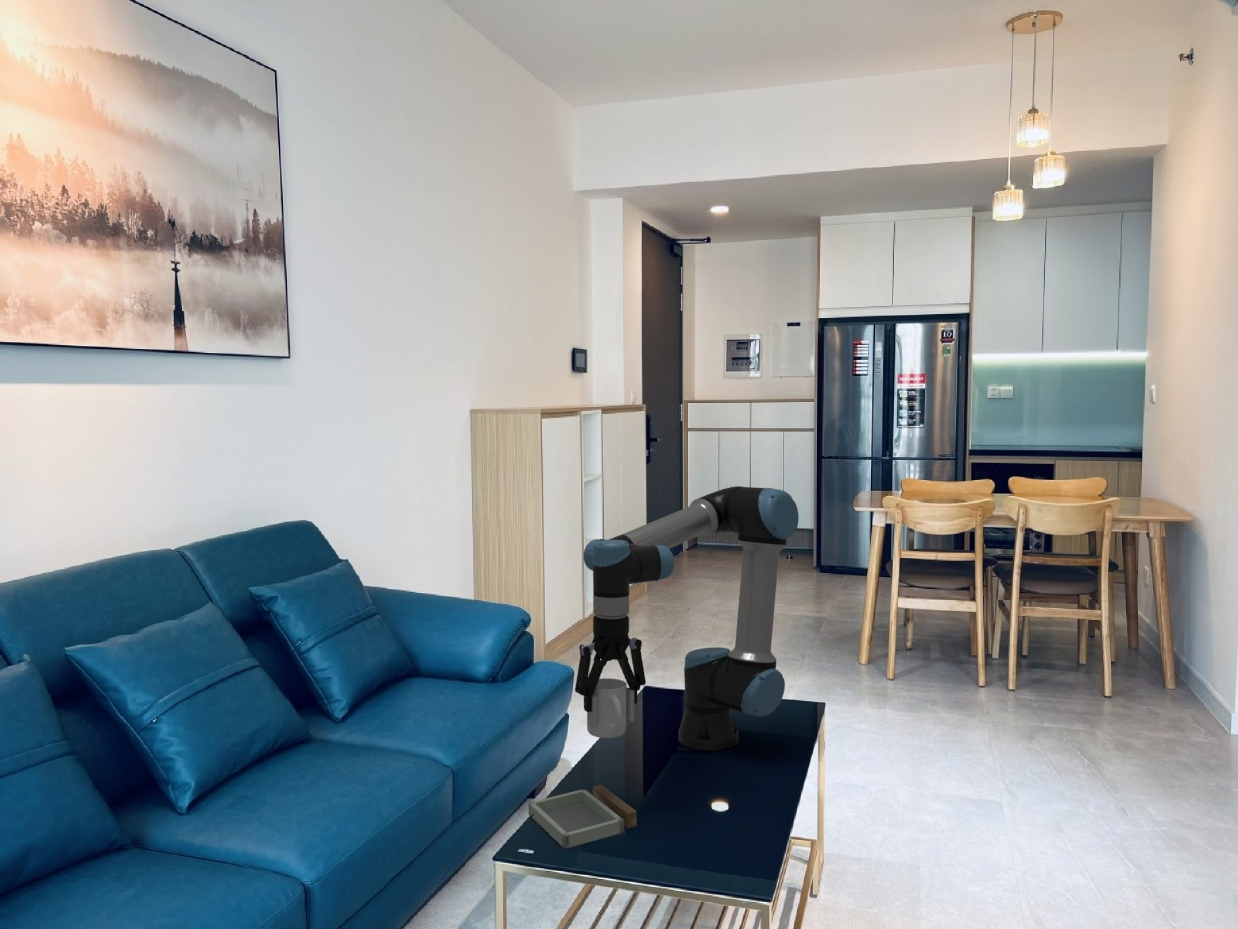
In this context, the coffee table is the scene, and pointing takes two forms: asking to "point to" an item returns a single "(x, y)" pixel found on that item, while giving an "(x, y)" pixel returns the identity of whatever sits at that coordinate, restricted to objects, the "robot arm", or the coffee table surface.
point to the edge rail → (616, 805)
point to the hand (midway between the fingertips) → (610, 723)
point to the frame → (576, 818)
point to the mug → (610, 708)
